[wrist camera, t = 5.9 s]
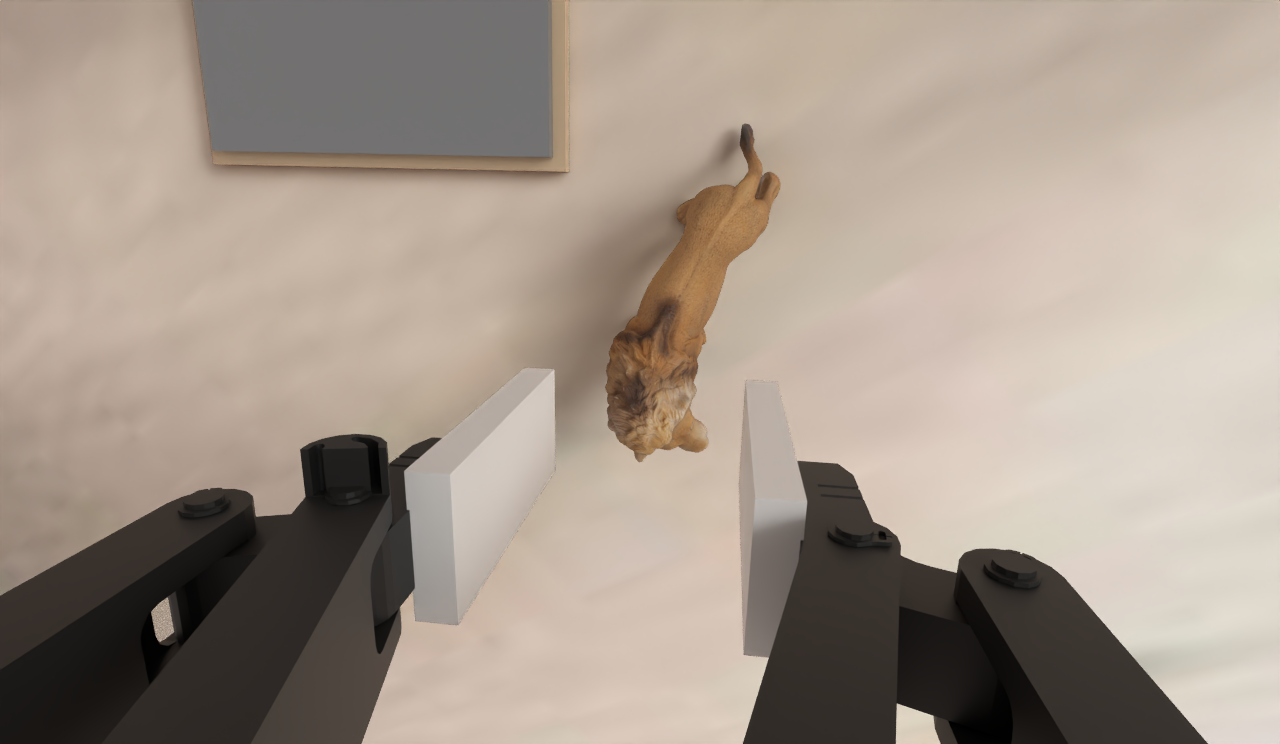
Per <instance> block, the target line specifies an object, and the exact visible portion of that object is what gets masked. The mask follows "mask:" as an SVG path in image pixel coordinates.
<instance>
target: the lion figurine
mask: <svg viewBox="0 0 1280 744" xmlns="http://www.w3.org/2000/svg"><path fill="white" fill-rule="evenodd" d="M753 143H754V138H753V130H752V128H751V126H750V125H749V124H743V125H742V129H741V138H740V147H741V149H742V151H743V154H744V157H745V158H746V160H747V163H748V168H749V171H748V173H747V175H746V176H745V178H744V179H743V180H742V181H741V182H740V183H739V184H738V185H737V186H736V187H733V186H731V185H719V186H712V187H708V188H706V189H704V190H702V191H701V192H700V193H698V194H697V195H696V196H695V198H693V199H691V200H688V201H687V202H685V203H683V204H682V205H681V206H680V207H679V208H678V210H677V219H678V220H679V221H680V222H681V223H682V224H683V225H686V227H685V230H684V234H683V236H682V238H681V240H680V242H679V244H678V245H677V246H676V248H675V249H674V250H673V252H672V253H671V254H670V255H669V257H668V258H667V260H666V261H665V262H664V264H663V265H662V267H661V268H660V270H659V271H658V272H657V274H656V275H655V276H654V278H653V279H652V281H651V283H650V284H649V286H648V288H647V290H646V292H645V294H644V296H643V299H642V301H641V304H640V307H639V310H638V314H637V316H636V317H633V318H632V319H631V320H630V321H629V323H628V324H627V327H626V329H625V330H624V331H622V332H620V333H619V334H618V335H617V336H616V337H615V338H614V340H613V344H612V346H611V348H610V351H609V356H610V362H609V363H608V365H607V370H606V372H607V377H608V381H607V384H606V387H605V388H606V391H607V393H608V397H607V402H608V404H609V407H608V408H607V413H608V419H609V421H608V427H609V429H610V430H612V431H614V432H615V433H616V436H617V439H618V440H619V441H620V442H621V443H622V444H624V445H626V446H627V447H628V448H629V449H631V450H633V451H634V454H635V458H636V459H637V461H638V462H642V461H643V459H644V458H645V457H646V456H647V455H650V454H652V453H653V452H654V451H655V449H659V448H660V449H664V450H671V449H673V448H676V447H677V446H679V447H680V448H682V449H684V450H686V451H691V452H700V451H702V450H704V449H705V448H706V447H707V446H708V437H707V430H706V427H705V425H704V424H703V423H702V422H700V421H698V420H696V419H695V418H694V417H693V415H692V413H691V410H690V406H691V401H692V399H693V397H694V396H695V394H696V391H697V390H696V386H695V385H694V383H693V381H694V379H695V376H696V374H697V369H698V363H697V357H698V356H699V354H700V352H701V349H702V345H703V344H705V343H706V335H705V332H704V329H703V328H704V326H705V325H706V323H707V321H708V320H709V318H710V316H711V315H712V312H713V310H714V308H715V306H716V303H717V300H718V297H719V294H720V291H721V288H722V285H723V282H724V278H725V274H726V270H727V267H728V265H729V264H730V262H731V261H732V260H733V259H735V258H736V257H737V256H738V255H740V254H741V253H742V252H744V251H745V250H747V249H749V248H750V247H751V246H752V245H753V244H754V243H755V241H756V240H757V238H758V237H759V235H760V234H761V233H762V232H763V231H764V230H765V228H766V226H767V224H768V219H769V212H770V209H771V205H772V203H773V201H774V198H775V197H776V196H777V194H778V191H779V190H780V181H779V178H778V177H777V176H776V175H775V174H773V173H771V172H767V173H765V174H764V175H763V176H762V177H761V175H762V164H761V162H760V160H759V159H758V157H757V155H756V152H755V150H754V148H753ZM755 195H756V197H757V199H755Z"/></svg>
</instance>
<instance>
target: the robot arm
mask: <svg viewBox="0 0 1280 744" xmlns="http://www.w3.org/2000/svg"><path fill="white" fill-rule="evenodd" d="M300 452H301V461H302V469H303V478H304V487H305V495H306V497H305V498H304V500H303V501H302V502H301V503H300V504H299V506H298V507H297V508H296V509H295V510H294V512H293V513H292V514H289V515H275V516H262V517H256V515H255V508H254V501H253V496H252V495H251V494H249V493H248V492H246V491H242V490H237V489H222V488H211V489H210V490H208V489H205V490H199V491H196V492H195V493H193V494H191V495H187V496H184V497H181V498H179V499H176V500H174V501H172V502H169V503H167V504H165V505H163V506H162V507H160V508H158V509H156V510H154V511H153V512H151V513H149V514H147V515H145V516H144V517H142V518H140V519H138V520H136V521H134V522H133V523H131V524H129V525H127V526H125V527H124V528H122V529H120V530H118V531H116V532H115V533H113V534H111V535H109V536H107V537H106V538H104V539H102V540H100V541H98V542H97V543H95V544H93V545H91V546H89V547H88V548H86V549H84V550H82V551H80V552H78V553H77V554H75V555H73V556H71V557H69V558H68V559H66V560H64V561H62V562H60V563H59V564H57V565H55V566H53V567H51V568H50V569H48V570H46V571H44V572H42V573H41V574H39V575H37V576H35V577H33V578H31V579H30V580H28V581H26V582H24V583H22V584H21V585H19V586H17V587H15V588H13V589H12V590H10V591H8V592H6V593H4V594H3V595H1V596H0V744H361V743H362V741H363V738H364V735H365V732H366V730H367V727H368V724H369V721H370V718H371V716H372V713H373V710H374V707H375V705H376V702H377V699H378V696H379V693H380V691H381V688H382V685H383V682H384V680H385V677H386V674H387V671H388V668H389V666H390V663H391V660H392V657H393V655H394V652H395V649H396V646H397V643H398V641H399V638H400V635H401V614H400V606H401V605H402V604H403V602H404V601H405V600H406V599H407V597H408V596H409V595H410V594H411V592H412V591H413V600H414V613H415V621H420V622H430V623H440V624H449V625H459V623H460V622H461V620H462V619H463V617H464V615H465V614H466V612H467V611H468V609H469V607H470V606H471V604H472V603H473V601H474V599H475V598H476V596H477V595H478V593H479V591H480V590H481V588H482V587H483V585H484V584H485V582H486V580H487V579H488V577H489V576H490V574H491V572H492V571H493V569H494V568H495V566H496V564H497V563H498V561H499V560H500V558H501V556H502V555H503V553H504V552H505V550H506V548H507V547H508V545H509V544H510V542H511V541H512V539H513V537H514V536H515V534H516V533H517V531H518V529H519V528H520V526H521V525H522V523H523V521H524V520H525V518H526V517H527V515H528V513H529V512H530V510H531V509H532V507H533V505H534V504H535V502H536V501H537V499H538V497H539V496H540V494H541V493H542V491H543V490H544V488H545V486H546V485H547V483H548V482H549V480H550V478H551V477H552V475H553V474H554V472H555V376H554V369H543V368H524V369H523V370H521V371H520V372H519V373H518V374H517V375H516V376H514V377H513V378H512V379H511V380H510V381H509V382H507V383H506V384H505V385H504V386H503V387H502V388H500V389H499V390H498V391H497V392H496V393H495V394H493V395H492V396H491V397H490V398H489V399H488V400H486V401H485V402H484V403H483V404H482V405H481V406H479V407H478V408H477V409H476V410H475V411H474V412H472V413H471V414H470V415H469V416H468V417H466V418H465V419H464V420H463V421H462V422H461V423H459V424H458V425H457V426H456V427H455V428H454V429H452V430H451V431H450V432H449V433H448V434H447V435H445V436H444V437H443V438H430V439H427V440H425V441H422V442H420V443H417V444H415V445H412V446H411V447H410V448H409V449H407V450H406V451H405V452H404V453H402V454H401V455H400V457H399V458H396V459H395V460H394V461H392V462H391V463H390V464H389V463H388V450H387V442H386V441H385V440H383V439H382V438H380V437H376V436H372V435H362V434H351V435H339V436H334V437H329V438H324V439H321V440H318V441H315V442H312V443H309V444H308V445H306V446H305V447H303V448H302V449H300ZM739 511H740V546H741V580H742V615H743V649H744V655H749V656H759V657H769V660H768V663H767V666H766V669H765V673H764V676H763V679H762V683H761V686H760V689H759V692H758V696H757V699H756V702H755V706H754V709H753V712H752V715H751V719H750V722H749V725H748V729H747V732H746V735H745V738H744V742H743V744H896V709H897V703H898V704H901V705H904V706H906V707H909V708H912V709H915V710H918V711H921V712H924V713H927V714H930V715H933V716H934V724H935V730H936V733H937V735H938V738H939V740H940V743H941V744H1208V743H1207V742H1206V741H1205V740H1204V739H1203V738H1202V736H1201V735H1200V734H1199V733H1198V732H1197V731H1196V729H1195V728H1194V727H1193V726H1192V725H1191V724H1190V723H1189V721H1188V720H1187V719H1186V718H1185V717H1184V716H1183V714H1182V713H1181V712H1180V711H1179V710H1178V709H1177V707H1176V706H1175V705H1174V704H1173V703H1172V702H1171V701H1170V699H1169V698H1168V697H1167V696H1166V695H1165V694H1164V692H1163V691H1162V690H1161V689H1160V688H1159V687H1158V686H1157V684H1156V683H1155V682H1154V681H1153V680H1152V679H1151V677H1150V676H1149V675H1148V674H1147V673H1146V672H1145V671H1144V669H1143V668H1142V667H1141V666H1140V665H1139V664H1138V662H1137V661H1136V660H1135V659H1134V658H1133V657H1132V655H1131V654H1130V653H1129V652H1128V651H1127V650H1126V649H1125V647H1124V646H1123V645H1122V644H1121V643H1120V642H1119V640H1118V639H1117V638H1116V637H1115V636H1114V635H1113V634H1112V632H1111V631H1110V630H1109V629H1108V628H1107V627H1106V625H1105V624H1104V623H1103V622H1102V621H1101V620H1100V619H1099V617H1098V616H1097V615H1096V614H1095V613H1094V612H1093V610H1092V609H1091V608H1090V607H1089V606H1088V605H1087V603H1086V602H1085V601H1084V600H1083V599H1082V598H1081V597H1080V595H1079V594H1078V593H1077V592H1076V591H1075V590H1074V588H1073V587H1072V586H1071V585H1070V584H1069V583H1068V582H1067V580H1066V579H1065V578H1064V577H1063V576H1062V575H1060V574H1059V573H1058V572H1057V571H1055V570H1054V569H1053V568H1052V567H1050V566H1048V565H1046V564H1044V563H1042V562H1040V561H1038V560H1036V559H1035V558H1034V557H1032V556H1029V555H1027V554H1024V553H1023V554H1020V552H1017V551H1013V550H999V549H975V550H972V551H968V552H965V553H964V554H963V555H962V557H961V558H960V559H959V564H958V570H957V573H954V572H950V571H946V570H942V569H938V568H934V567H930V566H927V565H924V564H920V563H917V562H914V561H912V560H910V559H907V558H905V557H903V556H901V555H900V552H901V545H900V542H899V540H898V537H897V536H896V535H895V534H893V533H892V532H891V531H890V530H889V529H888V528H885V527H883V526H881V525H879V524H877V523H875V522H873V520H872V518H871V515H870V513H869V511H868V508H867V506H866V504H865V502H864V500H863V497H862V495H861V492H860V490H858V485H857V483H856V481H855V478H854V476H853V475H852V474H851V473H850V472H848V471H847V470H845V469H844V468H843V467H841V466H840V465H839V464H834V463H819V462H805V461H797V458H796V454H795V450H794V446H793V442H792V438H791V434H790V430H789V426H788V422H787V418H786V414H785V410H784V406H783V402H782V398H781V394H780V390H779V386H778V382H776V381H758V380H746V381H745V396H744V411H743V427H742V442H741V457H740V472H739ZM167 597H168V599H169V605H170V611H171V616H172V622H173V627H174V633H173V634H171V635H170V636H169V637H168V638H166V639H165V640H163V641H161V642H159V641H158V640H157V638H156V636H155V631H154V625H153V620H152V615H151V611H152V610H153V609H154V608H155V607H156V606H157V605H158V603H160V602H161V601H163V600H164V599H165V598H167Z"/></svg>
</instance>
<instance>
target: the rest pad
mask: <svg viewBox="0 0 1280 744" xmlns="http://www.w3.org/2000/svg"><path fill="white" fill-rule="evenodd" d="M192 4H193V12H194V20H195V27H196V35H197V43H198V50H199V58H200V66H201V73H202V81H203V89H204V96H205V104H206V111H207V119H208V127H209V134H210V142H211V150H212V157H213V164H221V165H262V166H310V167H358V168H406V169H453V170H501V171H549V172H569V0H192Z"/></svg>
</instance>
